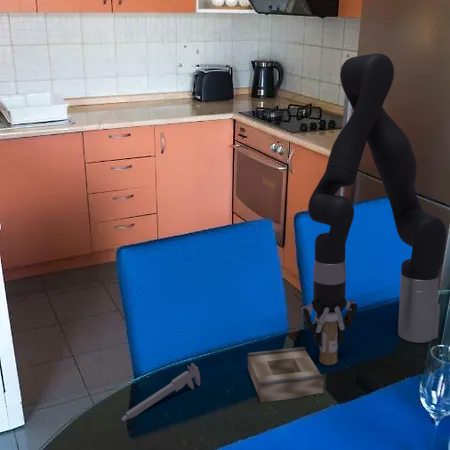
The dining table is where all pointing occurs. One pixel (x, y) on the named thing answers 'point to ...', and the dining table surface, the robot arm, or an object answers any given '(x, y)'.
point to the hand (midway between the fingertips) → (328, 343)
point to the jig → (284, 374)
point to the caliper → (167, 390)
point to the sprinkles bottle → (329, 340)
